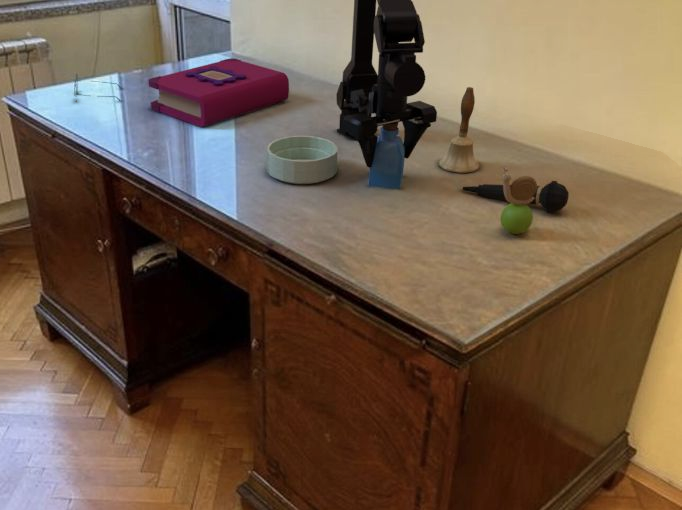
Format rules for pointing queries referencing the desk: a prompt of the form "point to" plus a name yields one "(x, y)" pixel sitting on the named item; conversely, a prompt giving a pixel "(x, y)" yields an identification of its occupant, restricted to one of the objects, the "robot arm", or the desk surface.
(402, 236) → the desk surface
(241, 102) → the book
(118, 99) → the eyeglasses
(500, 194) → the microphone
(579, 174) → the desk surface
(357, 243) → the desk surface
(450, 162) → the hand bell
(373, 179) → the perfume bottle
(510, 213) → the snail figurine
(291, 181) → the bowl
